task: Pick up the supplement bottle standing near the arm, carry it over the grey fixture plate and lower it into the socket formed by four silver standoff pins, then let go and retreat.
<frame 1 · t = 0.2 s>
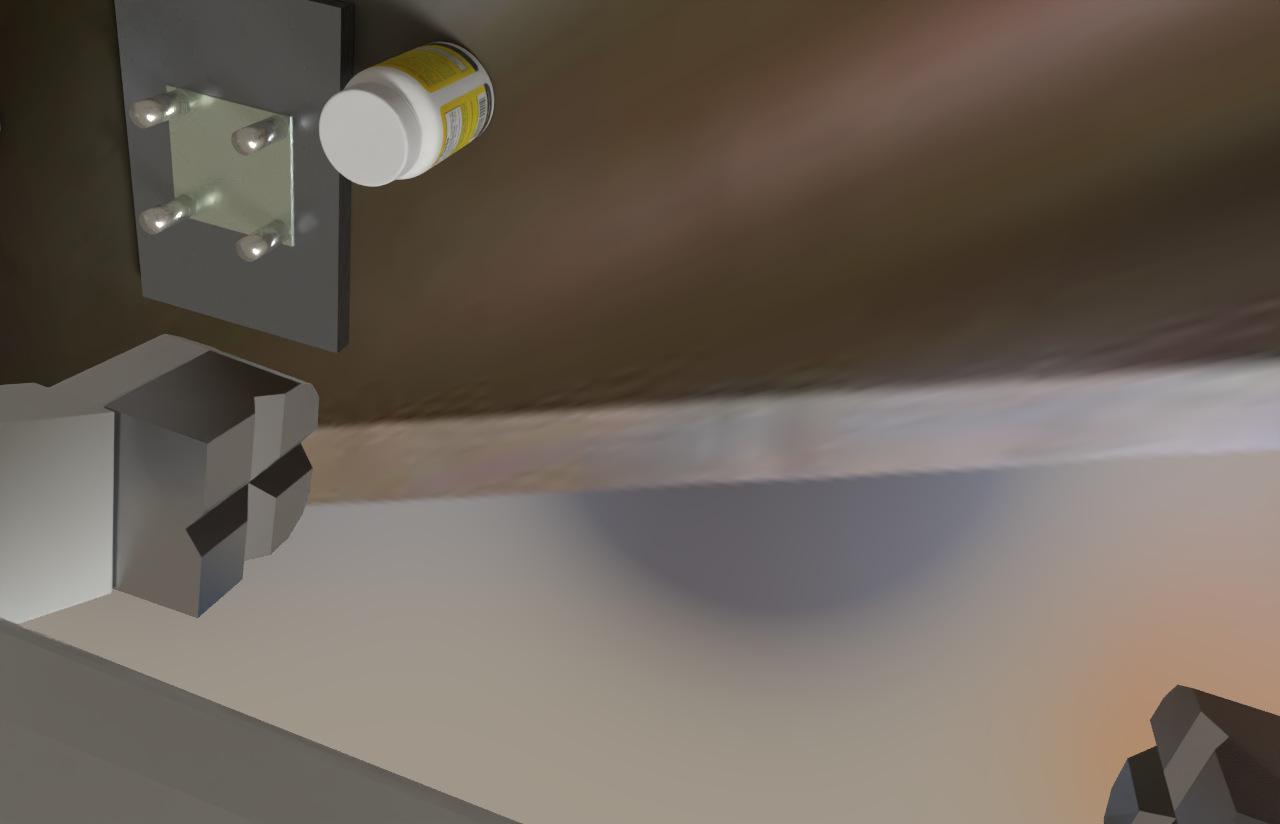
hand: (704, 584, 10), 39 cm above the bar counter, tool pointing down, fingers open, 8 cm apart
supplement bottle: (451, 92, 50), on the bar counter
grey fixture plate: (245, 160, 54), on the bar counter
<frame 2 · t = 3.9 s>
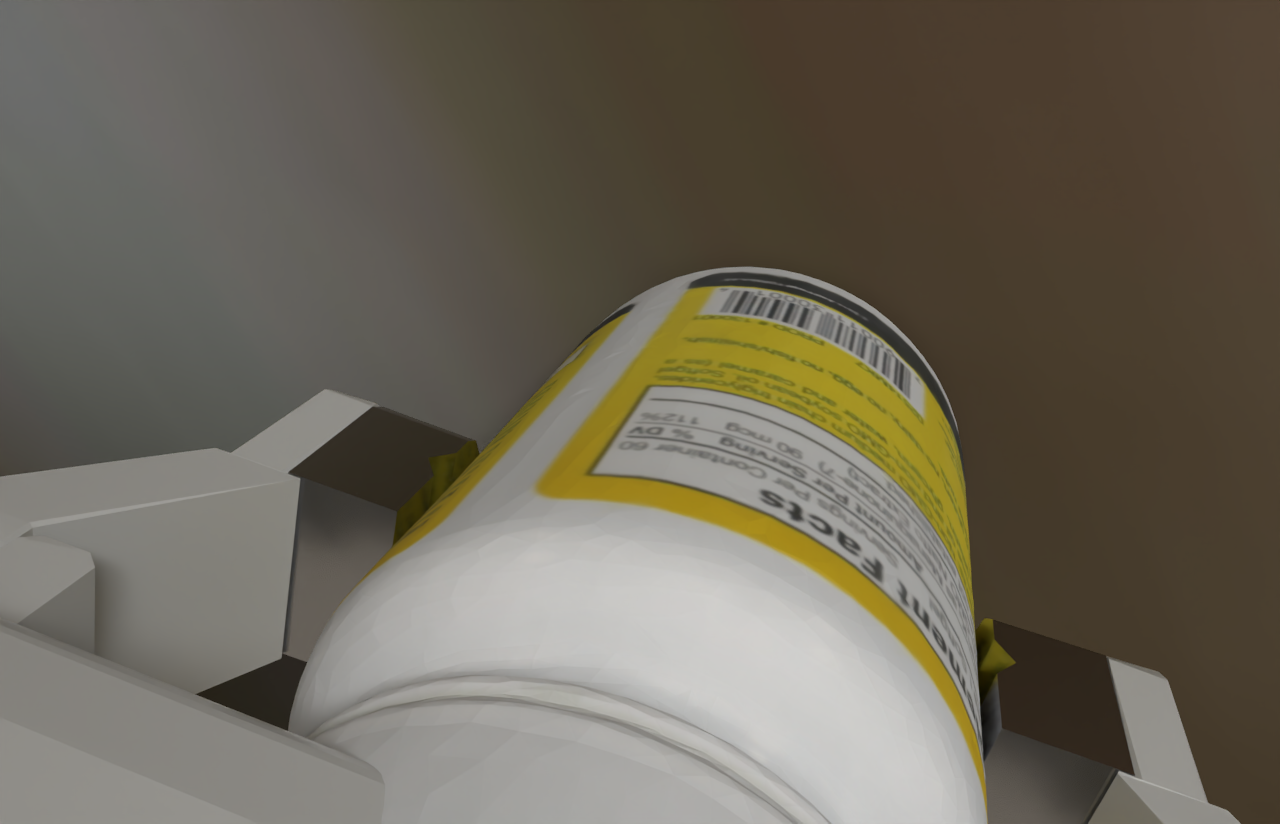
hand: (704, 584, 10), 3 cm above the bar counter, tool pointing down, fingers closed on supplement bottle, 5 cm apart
supplement bottle: (756, 448, 13), on the bar counter, touching gripper
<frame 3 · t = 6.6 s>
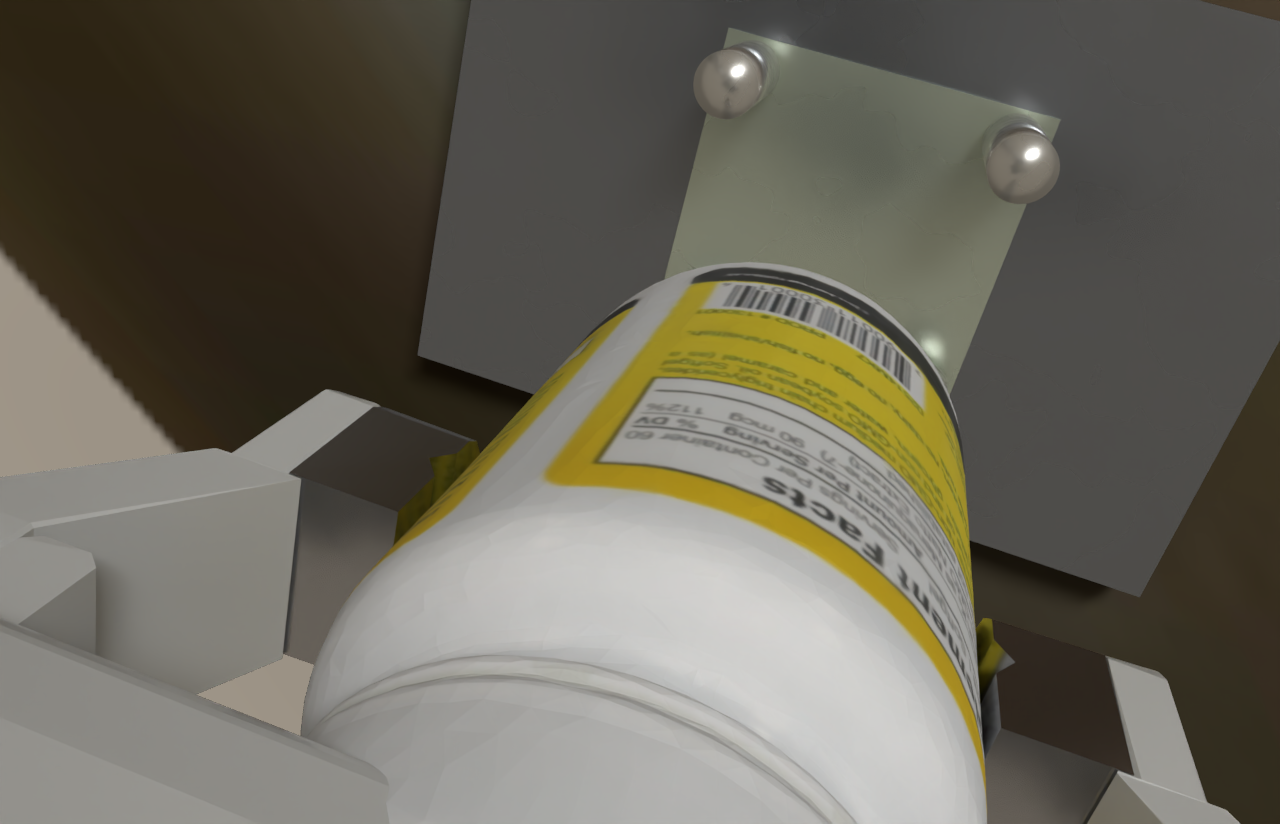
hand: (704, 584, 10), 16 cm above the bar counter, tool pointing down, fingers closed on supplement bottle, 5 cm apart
supplement bottle: (759, 442, 13), point 12 cm above the bar counter, touching gripper
grey fixture plate: (843, 220, 24), on the bar counter
when the fingers open (5 cm above the bar counter, at t = 9.1 s): supplement bottle drops 1 cm, resting on grey fixture plate.
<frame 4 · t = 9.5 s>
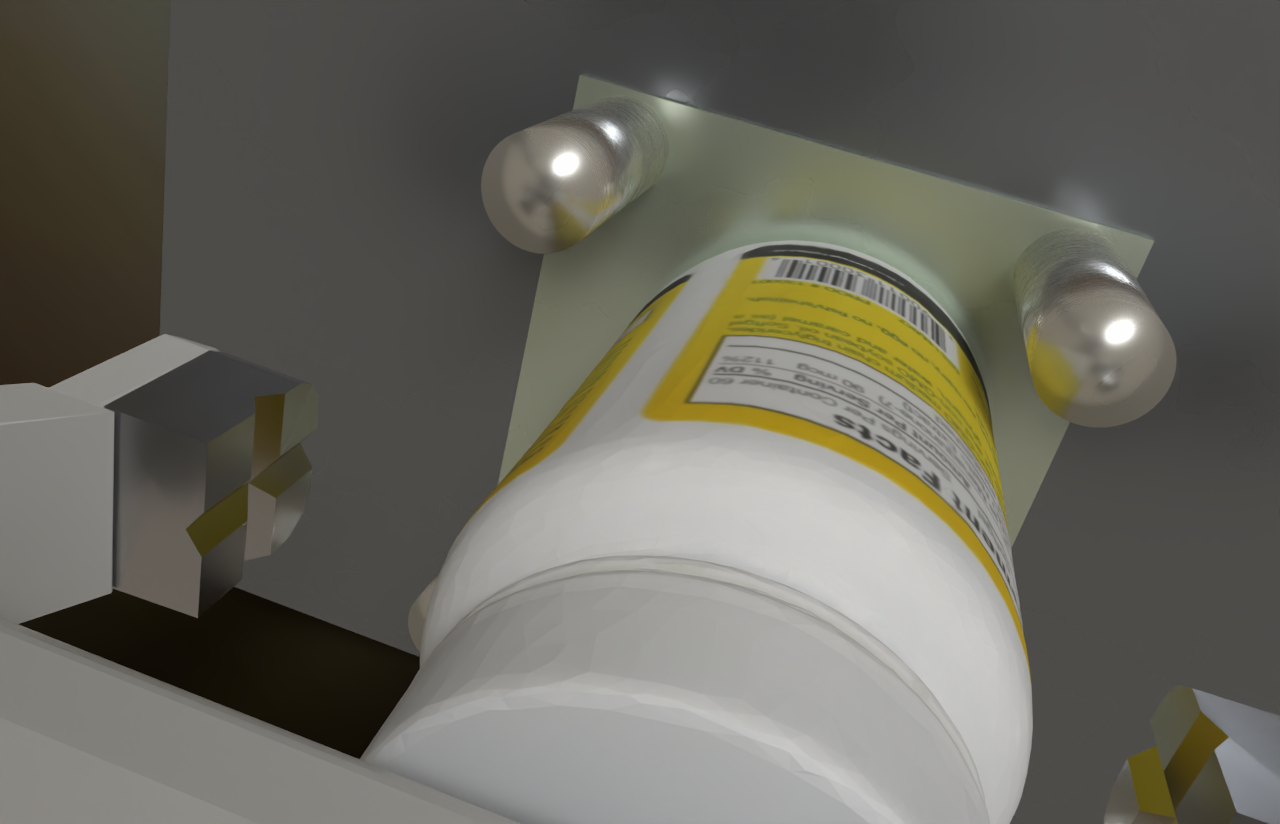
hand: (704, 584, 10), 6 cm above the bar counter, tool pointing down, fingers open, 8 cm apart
supplement bottle: (797, 409, 14), point 1 cm above the bar counter, touching grey fixture plate
grey fixture plate: (785, 377, 15), on the bar counter
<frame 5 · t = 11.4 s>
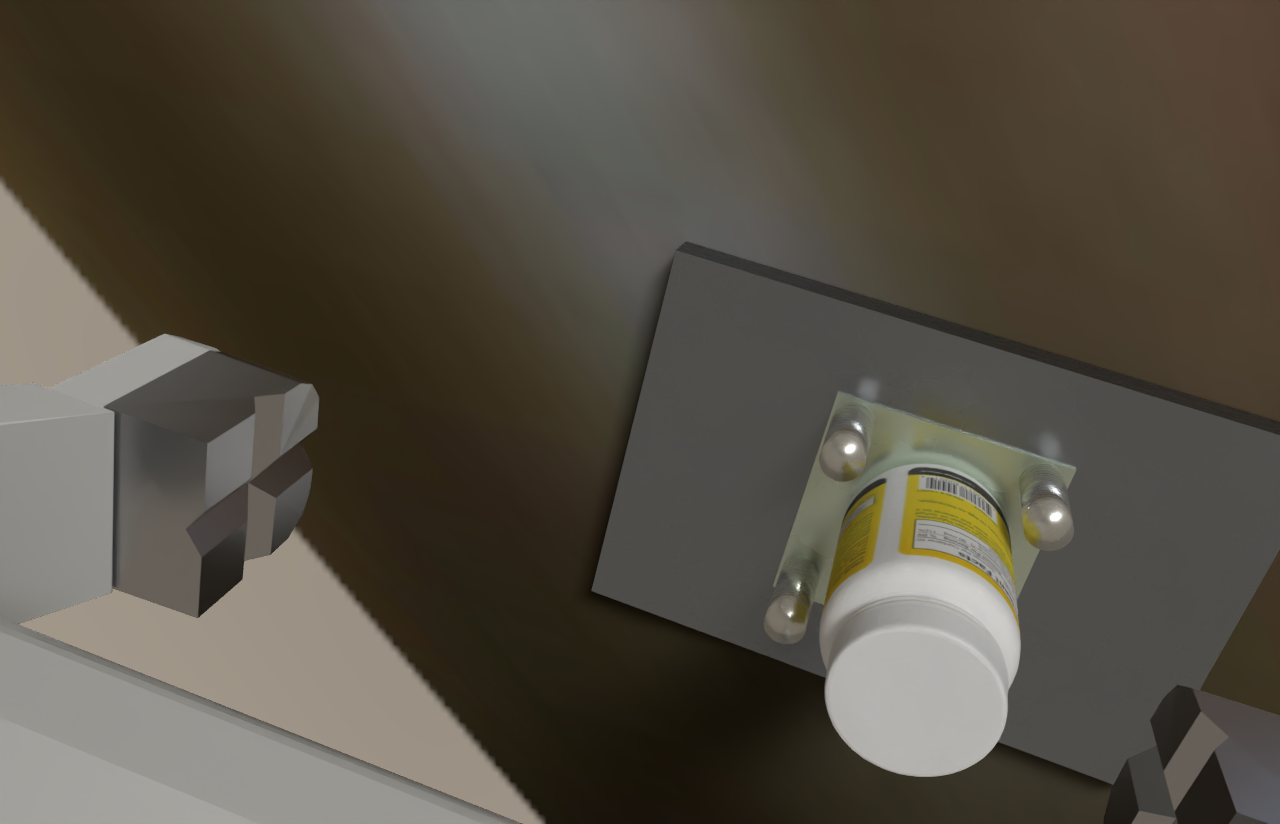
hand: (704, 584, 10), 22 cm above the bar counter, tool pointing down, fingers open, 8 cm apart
supplement bottle: (925, 530, 31), point 1 cm above the bar counter, touching grey fixture plate
grey fixture plate: (916, 512, 32), on the bar counter
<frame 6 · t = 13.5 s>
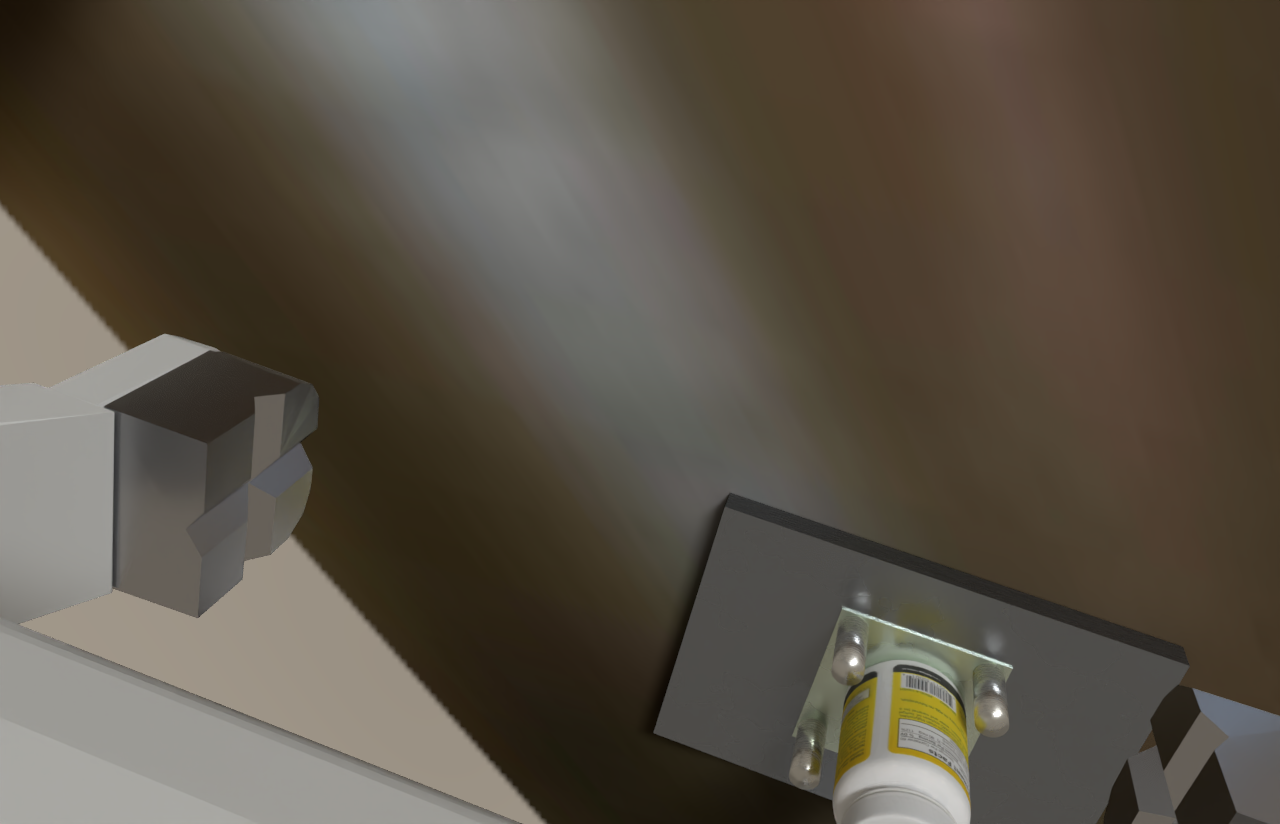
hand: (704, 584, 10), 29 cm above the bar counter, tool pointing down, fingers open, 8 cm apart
supplement bottle: (905, 702, 43), point 1 cm above the bar counter, touching grey fixture plate
grey fixture plate: (898, 684, 44), on the bar counter
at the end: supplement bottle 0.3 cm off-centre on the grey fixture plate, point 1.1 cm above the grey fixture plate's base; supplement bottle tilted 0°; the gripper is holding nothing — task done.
